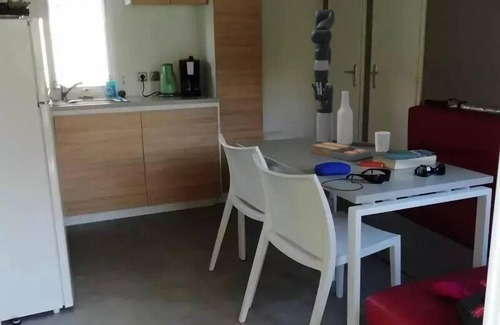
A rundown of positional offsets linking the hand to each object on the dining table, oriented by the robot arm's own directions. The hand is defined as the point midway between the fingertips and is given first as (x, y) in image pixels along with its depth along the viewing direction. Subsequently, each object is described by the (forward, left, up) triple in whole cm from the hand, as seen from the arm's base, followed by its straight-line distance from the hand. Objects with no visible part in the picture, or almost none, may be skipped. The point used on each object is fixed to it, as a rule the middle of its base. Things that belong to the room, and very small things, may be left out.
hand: (321, 101), depth 276 cm
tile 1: (+5, +26, -23) cm, 35 cm away
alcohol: (-21, -2, -26) cm, 34 cm away
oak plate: (+3, +10, -26) cm, 28 cm away
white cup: (-19, +26, -26) cm, 42 cm away
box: (+3, +24, -26) cm, 36 cm away
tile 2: (-1, +26, -23) cm, 35 cm away
